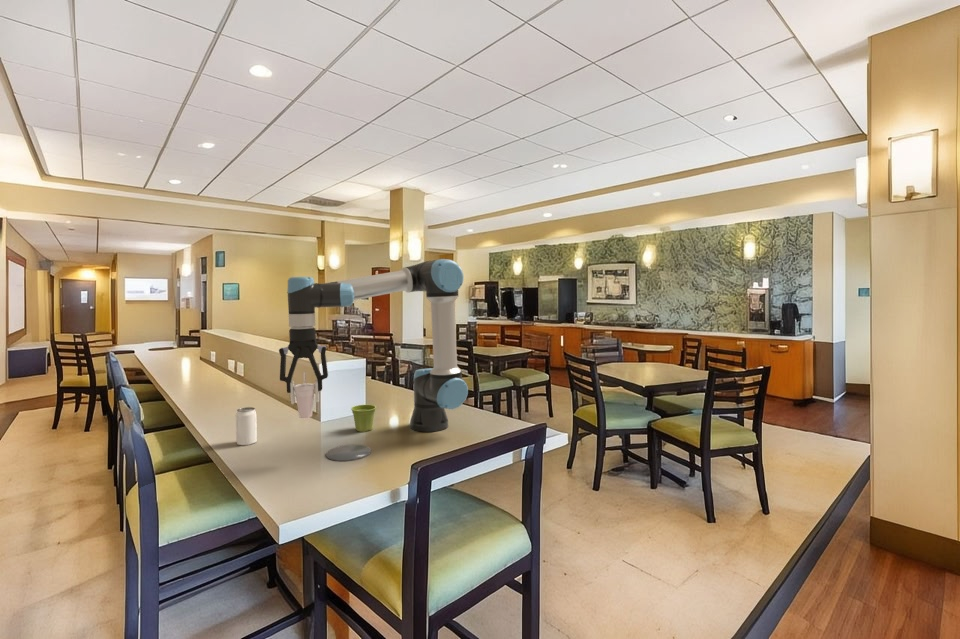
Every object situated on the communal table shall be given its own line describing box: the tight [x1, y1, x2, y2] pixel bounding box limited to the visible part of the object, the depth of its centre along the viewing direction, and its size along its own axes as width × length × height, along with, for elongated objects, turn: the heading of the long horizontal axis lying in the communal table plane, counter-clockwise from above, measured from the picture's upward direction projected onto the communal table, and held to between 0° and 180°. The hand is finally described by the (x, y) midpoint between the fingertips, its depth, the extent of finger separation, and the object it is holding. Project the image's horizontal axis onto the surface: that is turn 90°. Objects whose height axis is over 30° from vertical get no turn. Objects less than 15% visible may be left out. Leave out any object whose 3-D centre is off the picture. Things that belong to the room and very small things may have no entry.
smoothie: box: [294, 371, 315, 419], centre depth 142 cm, size 6×6×14 cm
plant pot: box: [350, 404, 377, 433], centre depth 178 cm, size 9×9×9 cm
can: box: [235, 406, 258, 446], centre depth 162 cm, size 6×6×12 cm
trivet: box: [326, 444, 372, 462], centre depth 152 cm, size 14×14×1 cm
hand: (305, 402), depth 143 cm, fingers closed on smoothie, 6 cm apart
